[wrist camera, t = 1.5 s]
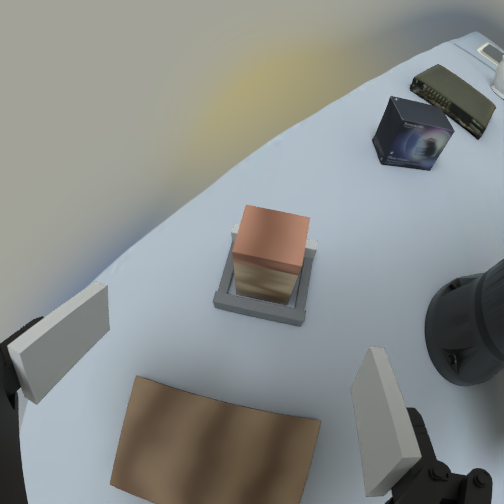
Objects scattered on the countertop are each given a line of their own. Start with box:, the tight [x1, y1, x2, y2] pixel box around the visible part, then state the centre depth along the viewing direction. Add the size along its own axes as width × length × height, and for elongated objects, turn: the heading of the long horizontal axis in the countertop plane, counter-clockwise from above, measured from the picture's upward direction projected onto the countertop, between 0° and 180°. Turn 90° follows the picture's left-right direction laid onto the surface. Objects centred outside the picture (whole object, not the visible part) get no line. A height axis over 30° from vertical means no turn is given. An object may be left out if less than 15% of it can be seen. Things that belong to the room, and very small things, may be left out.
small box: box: [372, 96, 454, 171], centre depth 43 cm, size 11×6×10 cm, turn 91°
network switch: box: [410, 64, 496, 139], centre depth 57 cm, size 23×24×5 cm
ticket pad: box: [232, 205, 310, 305], centre depth 32 cm, size 6×5×11 cm
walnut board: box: [110, 376, 321, 504], centre depth 26 cm, size 20×14×2 cm
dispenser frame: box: [213, 224, 318, 326], centre depth 35 cm, size 10×9×4 cm
